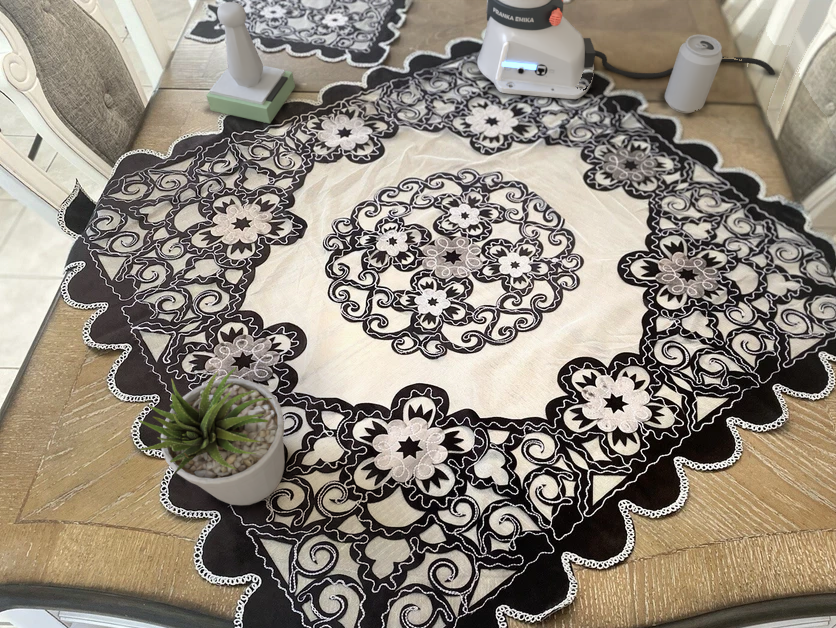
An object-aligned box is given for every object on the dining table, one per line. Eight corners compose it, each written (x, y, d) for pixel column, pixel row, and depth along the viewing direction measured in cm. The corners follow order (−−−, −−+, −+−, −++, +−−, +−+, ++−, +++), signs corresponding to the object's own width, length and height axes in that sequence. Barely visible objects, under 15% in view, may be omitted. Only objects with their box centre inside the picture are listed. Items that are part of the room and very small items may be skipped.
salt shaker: (269, 72, 118) (253, -2, 108) (260, 92, 115) (243, 18, 104) (236, 68, 118) (217, -6, 108) (226, 88, 115) (205, 14, 104)
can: (711, 107, 126) (734, 48, 116) (682, 120, 124) (704, 60, 114) (683, 86, 130) (704, 26, 120) (654, 98, 127) (673, 38, 117)
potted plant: (191, 428, 84) (132, 336, 67) (304, 424, 85) (273, 332, 69) (174, 525, 77) (103, 450, 60) (296, 520, 78) (260, 444, 62)
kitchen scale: (295, 86, 122) (291, 68, 119) (270, 123, 116) (265, 105, 113) (238, 74, 123) (233, 56, 120) (210, 110, 117) (205, 92, 114)
